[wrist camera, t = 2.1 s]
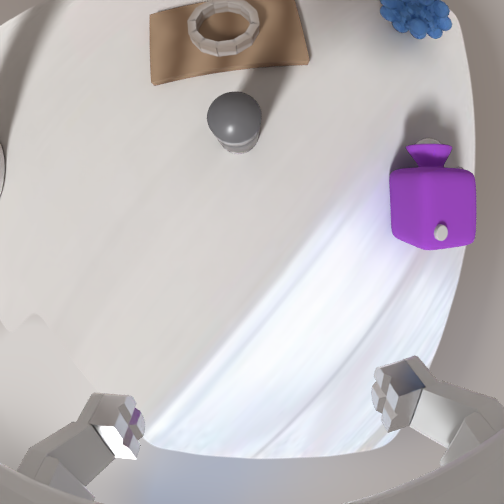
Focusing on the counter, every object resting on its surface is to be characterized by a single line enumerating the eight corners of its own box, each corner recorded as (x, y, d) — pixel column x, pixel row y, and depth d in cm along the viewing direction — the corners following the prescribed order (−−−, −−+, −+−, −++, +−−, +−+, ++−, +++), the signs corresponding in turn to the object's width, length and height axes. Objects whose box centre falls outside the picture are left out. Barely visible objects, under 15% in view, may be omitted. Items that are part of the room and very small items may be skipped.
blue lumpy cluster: (364, 37, 29) (399, -3, 17) (363, 6, 28) (393, -35, 16) (430, 63, 30) (476, 39, 18) (427, 32, 28) (467, 4, 16)
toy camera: (429, 138, 33) (473, 130, 23) (447, 228, 36) (490, 241, 26) (368, 149, 33) (406, 140, 24) (390, 248, 36) (429, 268, 27)
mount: (154, 85, 31) (144, 75, 27) (152, 19, 28) (144, 6, 24) (307, 64, 31) (313, 52, 27) (291, 0, 28) (295, -15, 24)
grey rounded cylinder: (221, 156, 33) (210, 145, 24) (216, 119, 32) (204, 96, 23) (260, 151, 33) (264, 138, 24) (255, 114, 32) (257, 88, 23)
